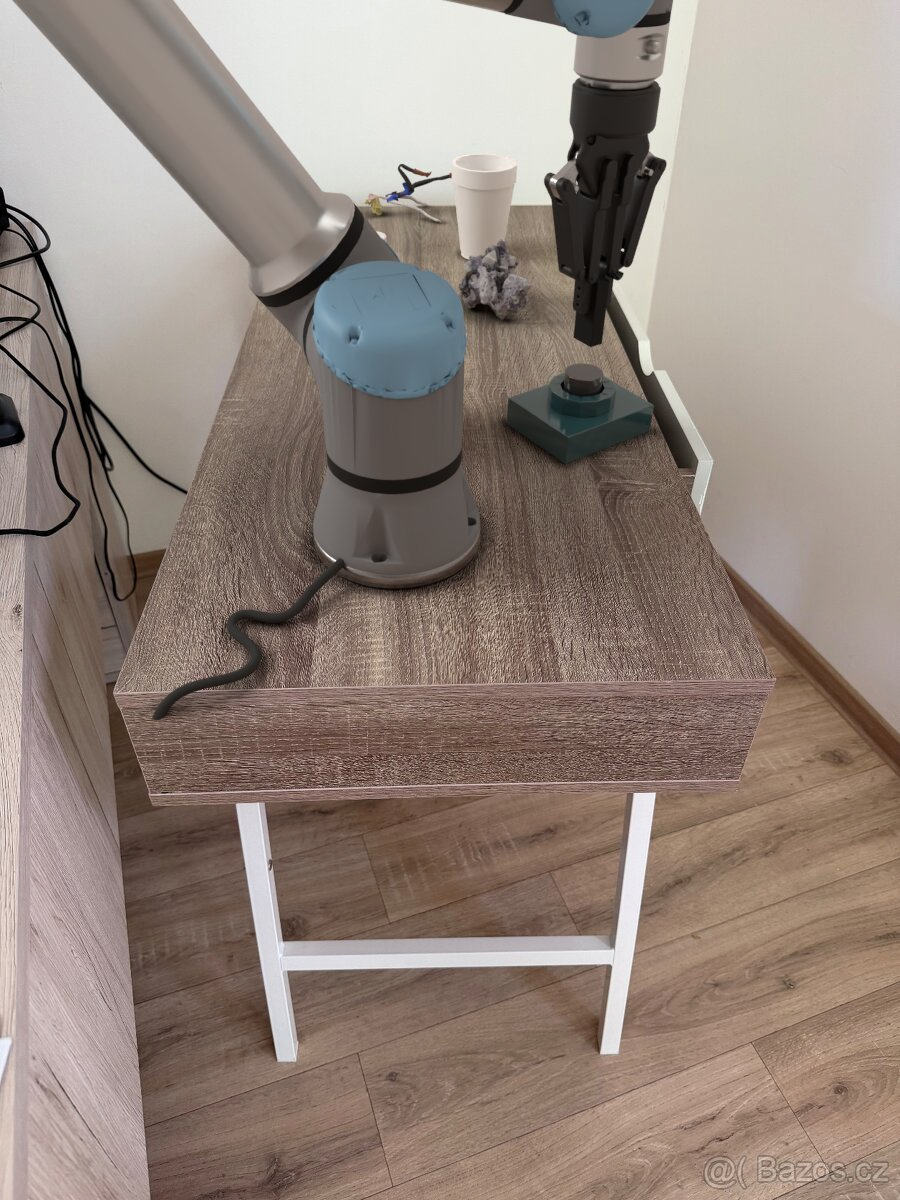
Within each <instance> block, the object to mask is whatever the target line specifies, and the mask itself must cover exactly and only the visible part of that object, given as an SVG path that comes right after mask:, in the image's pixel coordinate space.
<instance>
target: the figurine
mask: <svg viewBox="0 0 900 1200" xmlns="http://www.w3.org/2000/svg"><path fill="white" fill-rule="evenodd" d="M402 169H404V170H405V171H406V172H410V173H412V174H414V175H417V176H420V177H426V179H422V180H418V181H415V182H413V183H412V182H411V180H410V178H409V177H408V176H407V174H406V173H405V172H404V171H403V170H402ZM397 171H398V173H399V174H400V176H401V178H402V179H403V181H404V182H402V187H403V189H404V190H401V191H399V192H398V191H397V190H395V191H392V192H391V193H388V194H385V196H382V195H378V194H373V193H369V194H368V196H367V199H364V201H363V204H364V205H368V206H370V207H371V212H372V214H375V215H377V216H381V215H382V214H383V212H382V209H383V205H382V204H381V201H380V199H382V200H386V202H387V204H393V205H396V206H401V207H404V208H408V209H413V210H414V211H417V212H419V213H421V214H422V215H424V216H425V217H426V218H429V219H430V220H432V221H433V222H436V223H443V222H442V221H441V220H440V219H439V218H436V217H434V216H432V215H430V214H429V213H427V212H426V211H425V210H423V209H422V208H420V207H418V206H415V205H414V204H409V203H406V202H403V201H399V199H403V200H411V201H413V202H414V203H416V204H417V205H422V206H428V204H427V203H426V202H423V201H420V200H417V199H416V198H415V197H414V196H412V194H414V193H415V189H416V188H420V187H422V186H425V185H428V184H432V183H433V182H436V181H445V180H449V179H451V180H452V172H449V174H445V175H441V176H436V177H431V178H429V177H430V176H431V175H432V171H429V172H428V171H427V172H426V171H422V170H420V169H417V168H412V167H410V166H408V165H406V164H404V163H400V164H399V165H398V166H397Z"/></svg>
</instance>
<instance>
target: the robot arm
mask: <svg viewBox="0 0 900 1200" xmlns="http://www.w3.org/2000/svg"><path fill="white" fill-rule="evenodd" d="M11 1H12V3H14V4H15V5H16V6H17V8H19V10H20V11H21V12H22V13H23V14H24V15H25V17H27V19H29V21H30V22H31V23H32V24H33V25H34V26H35V28H36V29H37V30H38V31H39V32H40V33H41V35H43V37H45V39H47V41H48V42H49V43H50V44H51V45H52V47H54V48H55V49H56V51H57V52H58V53H59V54H60V56H62V57H63V58H64V60H65V61H66V62H67V63H68V64H69V65H70V66H71V68H72V69H74V70H75V72H76V73H77V74H78V75H79V76H80V77H81V78H82V80H84V81H85V83H86V84H87V85H88V86H89V87H90V88H91V89H92V90H93V92H94V93H95V94H96V95H97V96H98V97H99V98H100V99H101V100H102V102H104V104H105V105H106V106H107V107H108V108H109V109H110V110H111V111H112V112H113V114H114V115H115V116H116V117H117V118H118V119H119V120H120V121H121V123H122V124H123V125H124V126H125V127H126V128H127V129H128V130H129V131H130V132H131V133H132V134H133V136H134V137H135V138H136V139H137V140H138V142H139V143H140V144H141V145H142V146H143V147H144V148H145V149H146V150H147V151H148V152H149V153H150V155H151V156H152V157H153V158H154V159H155V160H156V162H158V163H159V165H161V167H162V168H163V169H164V170H165V171H166V172H167V173H168V175H169V176H170V177H171V178H172V179H173V180H174V181H175V182H176V183H177V184H178V186H179V187H180V188H181V189H182V190H183V191H184V192H185V193H186V195H187V196H188V197H189V198H190V199H191V200H192V202H194V204H195V205H196V206H197V207H198V208H199V209H200V210H201V211H202V212H203V213H204V214H205V215H206V216H207V218H208V219H209V221H211V222H212V223H213V224H214V226H216V228H217V229H218V230H219V231H220V232H221V233H222V235H224V236H225V238H226V239H227V240H228V241H229V242H230V243H231V244H232V245H233V246H234V248H235V249H236V250H237V251H238V252H239V254H241V255H242V257H243V258H245V260H246V261H247V287H248V289H249V290H250V291H251V292H252V294H253V295H254V296H255V297H256V299H258V300H259V301H260V303H262V304H263V306H264V307H265V308H266V309H267V311H269V312H270V314H271V315H272V316H274V317H275V319H276V320H277V321H278V322H279V323H280V324H281V326H283V327H284V328H285V329H286V330H287V331H288V333H289V334H290V335H291V336H292V337H293V339H294V340H295V341H296V342H297V343H298V345H299V347H300V348H301V350H302V352H303V354H304V357H305V359H306V362H307V364H308V366H309V368H310V371H311V372H312V376H313V378H314V380H315V382H316V384H317V388H318V391H319V395H320V403H321V410H322V411H321V412H322V421H323V423H322V424H323V431H324V432H323V433H324V443H325V453H326V466H327V468H326V472H325V475H324V478H323V481H322V482H323V483H322V486H321V490H320V494H319V498H318V502H317V506H316V509H315V510H314V516H313V522H312V534H313V543H314V549H315V551H316V554H317V556H318V558H319V559H320V561H321V562H322V563H323V564H324V566H325V567H327V568H326V569H325V570H324V571H323V572H322V573H321V574H320V575H319V576H318V577H317V578H315V580H313V582H311V584H310V585H308V587H307V588H306V589H305V590H304V591H303V592H302V594H301V595H300V597H299V598H298V599H297V600H296V602H294V603H293V605H292V606H291V607H289V608H287V609H286V610H284V611H281V612H276V613H275V612H274V613H273V612H266V611H260V610H256V609H247V608H246V609H239V610H236V611H235V612H233V613H232V614H231V615H230V616H229V617H228V618H227V620H226V624H225V627H226V630H227V632H228V634H229V635H230V637H232V639H234V641H236V642H237V643H239V644H240V645H241V646H242V647H243V648H245V649H246V650H247V651H248V652H249V654H250V660H248V662H247V663H246V664H245V665H243V666H242V667H241V668H238V669H235V670H233V671H230V672H227V673H222V674H218V675H214V676H209V677H204V678H200V679H197V680H193V681H190V682H187V683H184V684H183V685H180V686H178V687H176V688H175V689H174V690H172V691H171V692H169V693H168V694H167V695H166V696H165V697H164V698H163V699H162V701H161V702H160V703H159V704H158V706H157V707H156V709H155V710H154V712H153V714H152V717H151V718H152V720H153V721H159V720H162V719H163V718H165V716H166V714H167V713H168V712H169V710H170V709H171V708H172V707H173V706H174V704H176V703H177V702H178V701H179V700H181V699H182V698H184V697H186V696H188V695H190V694H193V693H196V692H199V691H202V690H206V689H211V688H214V687H215V688H216V687H220V686H225V685H228V684H233V683H236V682H238V681H242V680H244V679H246V678H248V677H249V676H250V675H252V674H253V673H255V671H256V670H257V668H258V667H259V666H260V664H261V661H262V658H263V657H262V651H261V649H260V648H259V646H258V645H257V643H256V642H255V641H254V640H253V639H251V637H249V636H248V635H246V634H245V633H244V632H242V630H241V629H240V628H238V626H237V625H238V623H239V622H240V621H243V620H252V621H257V622H262V623H268V624H279V623H285V622H286V621H289V620H291V619H293V618H295V617H296V616H297V615H299V614H300V613H301V612H302V611H303V610H304V609H305V607H307V605H308V604H309V602H310V601H311V600H312V599H313V597H314V596H315V595H316V593H317V592H319V591H320V590H321V588H323V587H324V585H326V584H327V583H328V582H329V581H330V580H331V579H332V578H333V577H334V576H336V575H338V576H339V577H342V578H343V579H345V580H348V581H350V582H352V583H356V584H359V585H363V586H368V587H373V588H381V589H408V588H416V587H421V586H426V585H430V584H434V583H436V582H440V581H443V580H444V579H447V578H449V577H451V576H453V575H454V574H456V573H458V572H460V571H461V570H462V569H463V568H464V567H466V566H467V565H468V564H469V563H470V562H471V560H472V559H473V558H474V556H475V555H476V554H477V551H478V550H479V546H480V542H481V525H482V524H481V517H480V512H479V508H478V506H477V502H476V500H475V497H474V494H473V491H472V489H471V486H470V483H469V480H468V478H467V475H466V471H465V468H464V465H463V430H464V429H463V428H464V426H463V425H464V393H465V391H464V388H465V387H464V386H465V355H466V354H467V347H468V346H467V344H468V343H467V342H468V337H467V334H466V333H467V329H466V325H465V316H464V309H463V308H464V307H463V303H462V301H461V298H460V295H459V294H458V292H457V291H456V290H455V288H454V286H452V285H451V283H449V282H448V280H446V279H445V278H444V277H442V276H441V275H439V273H436V272H434V271H432V270H430V269H424V270H421V269H420V268H419V266H418V265H416V264H412V263H407V262H403V261H401V260H400V258H399V257H398V255H397V254H396V251H394V249H393V247H391V246H390V245H389V243H388V241H387V242H386V241H385V240H384V239H383V238H381V237H380V236H379V235H378V233H377V232H376V231H377V230H376V229H375V228H374V227H373V226H372V224H371V223H370V222H369V220H368V219H367V217H366V216H365V215H364V214H363V212H362V211H361V210H360V209H359V208H358V206H357V205H356V203H355V202H354V201H353V199H352V198H351V197H350V196H349V195H347V194H345V193H342V192H327V191H324V190H322V189H321V188H320V186H319V185H318V184H317V182H316V181H315V179H313V177H312V176H311V174H309V172H308V170H307V169H306V168H305V167H304V165H303V164H302V163H301V162H300V161H299V159H298V158H297V157H296V156H295V154H294V153H293V152H292V151H291V149H290V147H289V146H288V145H287V144H286V143H285V141H284V140H283V139H282V137H281V135H279V133H278V132H277V131H276V130H275V128H274V127H273V126H272V125H271V123H270V122H269V120H267V118H266V117H265V116H264V115H263V113H262V112H261V111H260V108H258V107H257V105H256V104H255V102H253V100H252V99H251V98H250V96H249V95H248V93H246V92H245V90H244V89H243V87H242V86H241V85H240V83H239V82H238V81H237V80H236V79H235V77H234V76H233V74H232V73H231V72H230V70H228V68H227V67H226V66H225V64H224V63H223V62H222V61H221V59H220V58H219V57H218V55H217V54H216V52H215V51H214V50H213V48H211V46H210V45H209V44H208V42H207V41H206V40H205V39H204V37H203V36H202V35H201V33H200V32H199V31H198V29H197V28H196V27H195V26H194V25H193V23H192V22H191V20H190V19H189V18H188V17H187V16H186V14H185V13H184V12H183V10H182V9H181V8H180V7H179V5H178V4H177V2H175V0H11ZM443 1H445V2H450V3H455V4H459V5H463V6H469V7H473V8H478V9H482V10H488V11H492V12H498V13H502V14H504V15H507V16H511V17H515V18H516V17H517V18H520V19H525V20H531V21H535V22H539V23H544V24H549V25H553V26H558V27H561V28H564V29H566V30H567V32H569V33H571V34H573V35H576V40H575V48H574V49H575V50H574V60H573V72H574V73H575V74H576V75H577V76H579V77H578V78H576V79H575V81H574V82H572V86H571V96H570V97H571V99H570V108H569V109H570V110H569V125H570V127H571V131H572V136H573V137H572V142H571V144H570V147H569V149H568V152H567V156H566V160H567V161H566V163H565V164H564V165H563V166H562V168H560V169H559V170H558V172H557V173H554V172H547V173H546V174H545V176H544V178H543V184H544V187H545V189H546V191H547V193H548V195H549V198H550V199H551V209H552V218H553V220H552V221H553V229H554V237H555V247H556V256H557V266H558V272H559V273H561V274H563V275H564V276H567V277H569V278H571V279H572V280H574V288H573V297H572V298H573V300H572V309H573V311H574V312H575V317H574V318H575V319H574V327H573V328H574V329H573V339H575V340H576V341H579V342H580V343H582V344H584V345H586V346H588V347H590V348H593V347H596V346H600V345H602V344H603V338H604V329H605V322H606V315H607V309H608V308H609V307H610V305H611V303H612V296H613V288H614V280H615V281H620V280H622V279H623V276H624V274H625V273H624V272H623V271H621V269H623V268H630V267H631V266H632V264H633V262H634V259H635V256H636V253H637V249H638V246H639V243H640V239H641V235H642V233H643V229H644V227H645V223H646V219H647V216H648V213H649V209H650V206H651V203H652V200H653V196H654V193H655V190H656V187H657V185H658V183H659V182H660V179H661V178H662V176H663V174H664V172H665V170H666V168H667V160H666V159H664V158H661V157H658V156H656V155H654V154H653V153H652V152H651V151H650V147H651V146H650V145H651V143H650V139H649V134H651V133H652V132H653V131H654V130H655V129H656V128H655V127H656V125H657V121H658V120H657V119H658V113H659V104H660V100H661V99H660V98H661V93H662V92H661V90H662V88H661V86H660V84H659V82H657V79H658V78H660V77H661V76H662V75H663V73H664V67H665V60H666V51H667V45H668V40H669V39H668V38H669V31H670V24H671V18H672V10H673V4H674V0H443Z"/></svg>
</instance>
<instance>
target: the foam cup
mask: <svg viewBox="0 0 900 1200" xmlns="http://www.w3.org/2000/svg"><path fill="white" fill-rule="evenodd" d="M517 172H518V163H517V160H516V159H514V158H512V157H510V156H507V155H503V154H498V153H485V152H482V153H481V152H480V153H468V154H463V155H459V156H456V157H454V158H453V159H452V160H451V173H452V178H451V182H452V184H453V185H452V186H453V193H454V203H455V204H454V205H455V211H456V222H457V231H458V239H459V249H460V255H461V257H462V258H464V259H466V260H469V256H470V255H471V256H474V257H475V256H479V255H482V256H483V255H485V250H486V248H487V247H491V246H492V245H495V246H496V245H497V243H498V241H499V239H502V240H503V241H505V242H506V236H507V229H508V224H509V218H510V212H511V206H512V202H513V201H512V200H513V194H514V189H515V184H517V174H518V173H517Z"/></svg>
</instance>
